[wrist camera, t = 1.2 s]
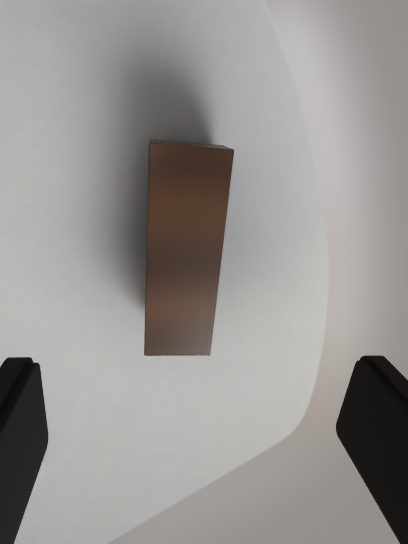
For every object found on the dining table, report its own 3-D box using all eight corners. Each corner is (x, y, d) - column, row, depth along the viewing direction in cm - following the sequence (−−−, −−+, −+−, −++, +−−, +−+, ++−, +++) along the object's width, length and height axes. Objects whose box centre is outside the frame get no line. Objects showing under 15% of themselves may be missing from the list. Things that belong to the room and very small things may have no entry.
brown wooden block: (150, 138, 19) (149, 142, 15) (220, 144, 20) (234, 149, 16) (146, 320, 24) (144, 356, 20) (202, 320, 24) (210, 355, 21)
